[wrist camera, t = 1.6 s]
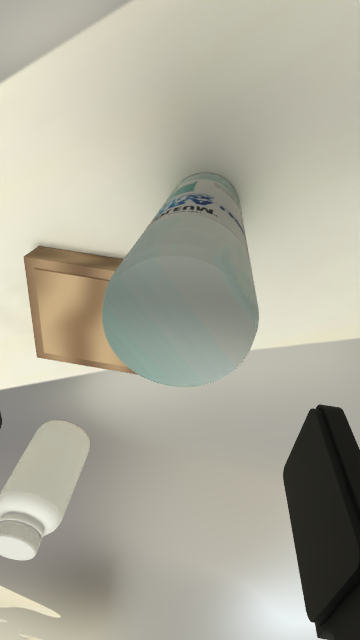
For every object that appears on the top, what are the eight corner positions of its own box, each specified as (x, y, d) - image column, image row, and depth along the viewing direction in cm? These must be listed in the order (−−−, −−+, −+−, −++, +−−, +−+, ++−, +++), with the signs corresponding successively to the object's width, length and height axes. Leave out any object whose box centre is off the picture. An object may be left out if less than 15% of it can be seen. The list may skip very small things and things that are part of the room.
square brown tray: (155, 264, 34) (149, 277, 31) (147, 358, 40) (141, 376, 37) (38, 246, 34) (22, 257, 32) (48, 342, 41) (36, 358, 38)
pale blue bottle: (194, 256, 33) (159, 408, 16) (154, 198, 31) (64, 303, 14) (254, 220, 31) (289, 354, 14) (217, 153, 28) (201, 214, 11)
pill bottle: (94, 458, 51) (50, 571, 39) (43, 451, 52) (-17, 560, 39) (90, 422, 47) (39, 535, 34) (34, 414, 48) (-36, 523, 35)
